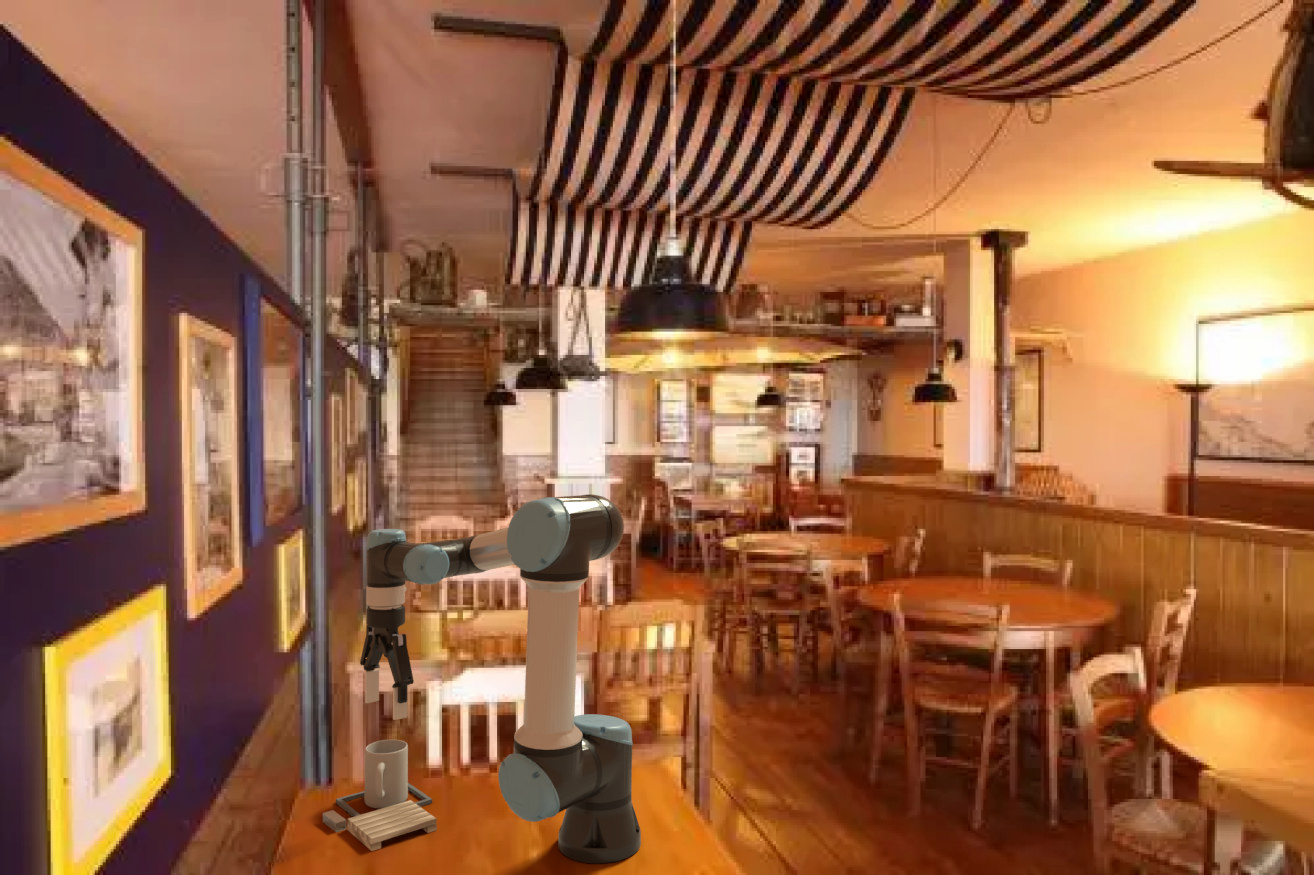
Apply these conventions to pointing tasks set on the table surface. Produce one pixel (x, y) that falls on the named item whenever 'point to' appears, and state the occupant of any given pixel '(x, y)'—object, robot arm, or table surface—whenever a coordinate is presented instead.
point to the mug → (386, 773)
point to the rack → (390, 823)
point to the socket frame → (350, 810)
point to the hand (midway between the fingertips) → (385, 709)
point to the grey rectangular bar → (334, 821)
